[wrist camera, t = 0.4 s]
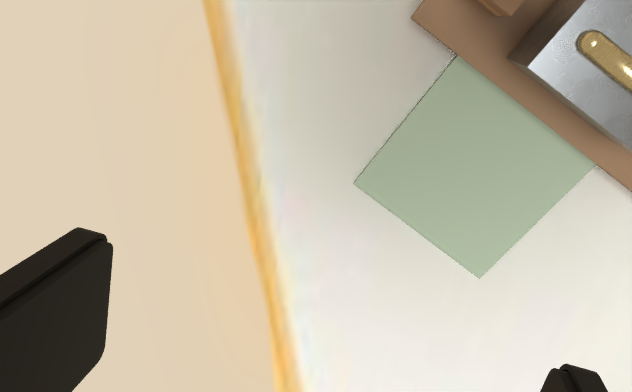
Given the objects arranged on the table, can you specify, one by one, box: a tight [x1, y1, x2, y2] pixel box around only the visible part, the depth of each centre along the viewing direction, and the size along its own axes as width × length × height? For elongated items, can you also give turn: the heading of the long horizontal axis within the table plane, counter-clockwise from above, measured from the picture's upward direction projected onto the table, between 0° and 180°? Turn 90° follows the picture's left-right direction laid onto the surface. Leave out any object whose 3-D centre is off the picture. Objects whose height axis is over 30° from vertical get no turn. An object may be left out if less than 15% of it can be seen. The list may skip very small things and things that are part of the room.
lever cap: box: [506, 0, 632, 153], centre depth 27 cm, size 5×8×7 cm, turn 54°
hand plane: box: [411, 0, 632, 192], centre depth 30 cm, size 8×20×8 cm, turn 54°
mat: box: [354, 55, 596, 279], centre depth 37 cm, size 12×12×1 cm
